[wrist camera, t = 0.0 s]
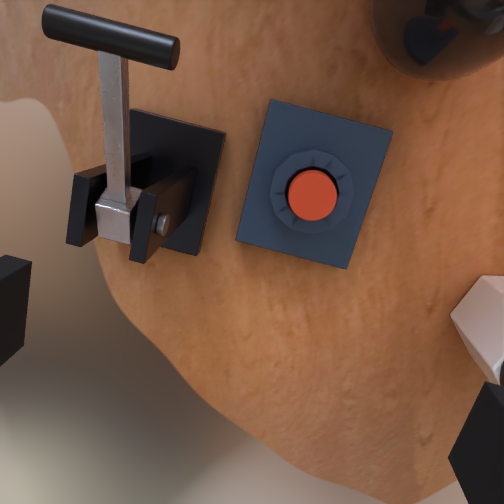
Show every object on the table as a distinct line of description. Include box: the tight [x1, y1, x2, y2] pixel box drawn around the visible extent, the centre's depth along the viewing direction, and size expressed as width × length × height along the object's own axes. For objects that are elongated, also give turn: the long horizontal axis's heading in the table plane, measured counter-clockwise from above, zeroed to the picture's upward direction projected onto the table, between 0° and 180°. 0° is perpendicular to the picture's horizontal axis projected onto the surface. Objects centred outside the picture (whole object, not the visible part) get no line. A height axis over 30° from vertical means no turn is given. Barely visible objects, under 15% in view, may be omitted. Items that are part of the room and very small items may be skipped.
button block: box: [236, 99, 393, 269], centre depth 37 cm, size 12×10×4 cm
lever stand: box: [66, 109, 226, 264], centre depth 33 cm, size 11×8×14 cm
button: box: [288, 170, 337, 221], centre depth 35 cm, size 4×4×2 cm
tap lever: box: [42, 4, 180, 245], centre depth 25 cm, size 13×6×2 cm, turn 167°
